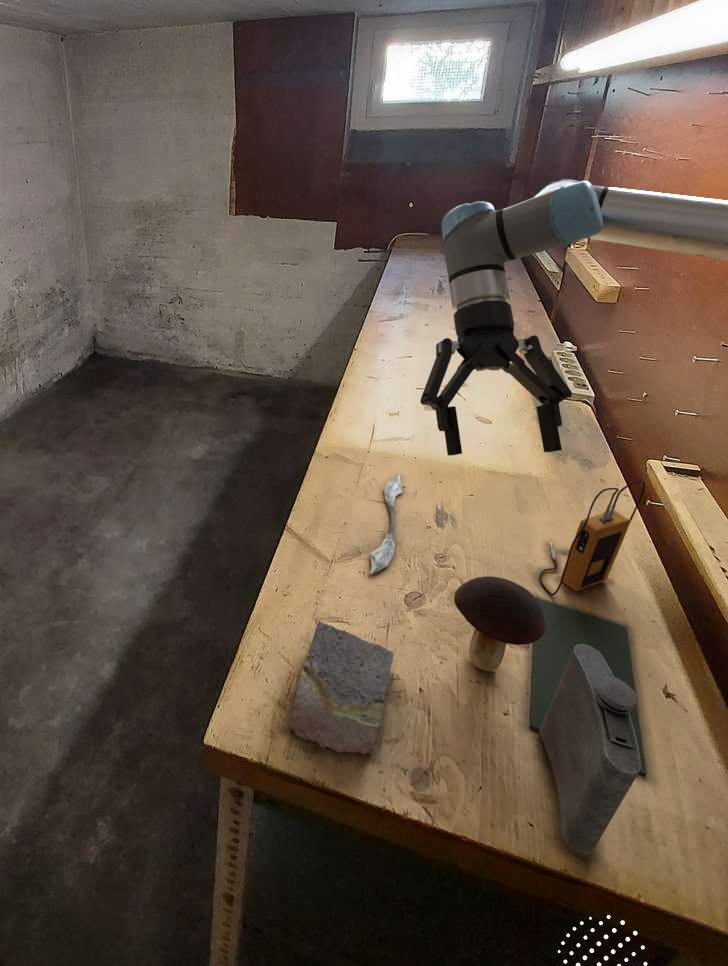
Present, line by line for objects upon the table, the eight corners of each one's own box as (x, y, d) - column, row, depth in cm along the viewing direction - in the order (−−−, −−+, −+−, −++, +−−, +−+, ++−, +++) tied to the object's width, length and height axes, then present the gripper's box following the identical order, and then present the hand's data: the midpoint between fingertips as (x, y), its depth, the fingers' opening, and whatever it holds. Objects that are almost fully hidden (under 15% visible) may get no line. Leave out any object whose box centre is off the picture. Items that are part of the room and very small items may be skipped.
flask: (570, 732, 71) (614, 635, 62) (604, 864, 59) (664, 766, 51) (537, 723, 72) (576, 627, 64) (564, 851, 60) (617, 754, 52)
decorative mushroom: (430, 631, 85) (447, 557, 79) (504, 632, 85) (527, 557, 78) (459, 700, 75) (482, 621, 69) (543, 701, 75) (573, 621, 68)
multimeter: (569, 537, 102) (602, 445, 94) (623, 576, 94) (664, 478, 85) (505, 557, 98) (533, 463, 90) (555, 599, 90) (591, 499, 81)
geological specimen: (395, 643, 78) (380, 739, 65) (388, 674, 80) (372, 772, 68) (319, 616, 82) (290, 701, 69) (314, 646, 84) (286, 733, 72)
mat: (625, 627, 85) (626, 626, 85) (645, 775, 66) (646, 774, 66) (534, 598, 90) (535, 596, 90) (529, 727, 72) (530, 725, 72)
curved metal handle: (366, 575, 96) (397, 582, 94) (367, 572, 95) (397, 579, 94) (380, 471, 122) (403, 475, 121) (380, 469, 122) (404, 473, 120)
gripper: (549, 313, 86) (575, 452, 81) (387, 318, 85) (403, 458, 81) (583, 295, 78) (613, 446, 74) (405, 300, 78) (425, 453, 73)
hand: (503, 453), depth 77 cm, fingers open, 13 cm apart
